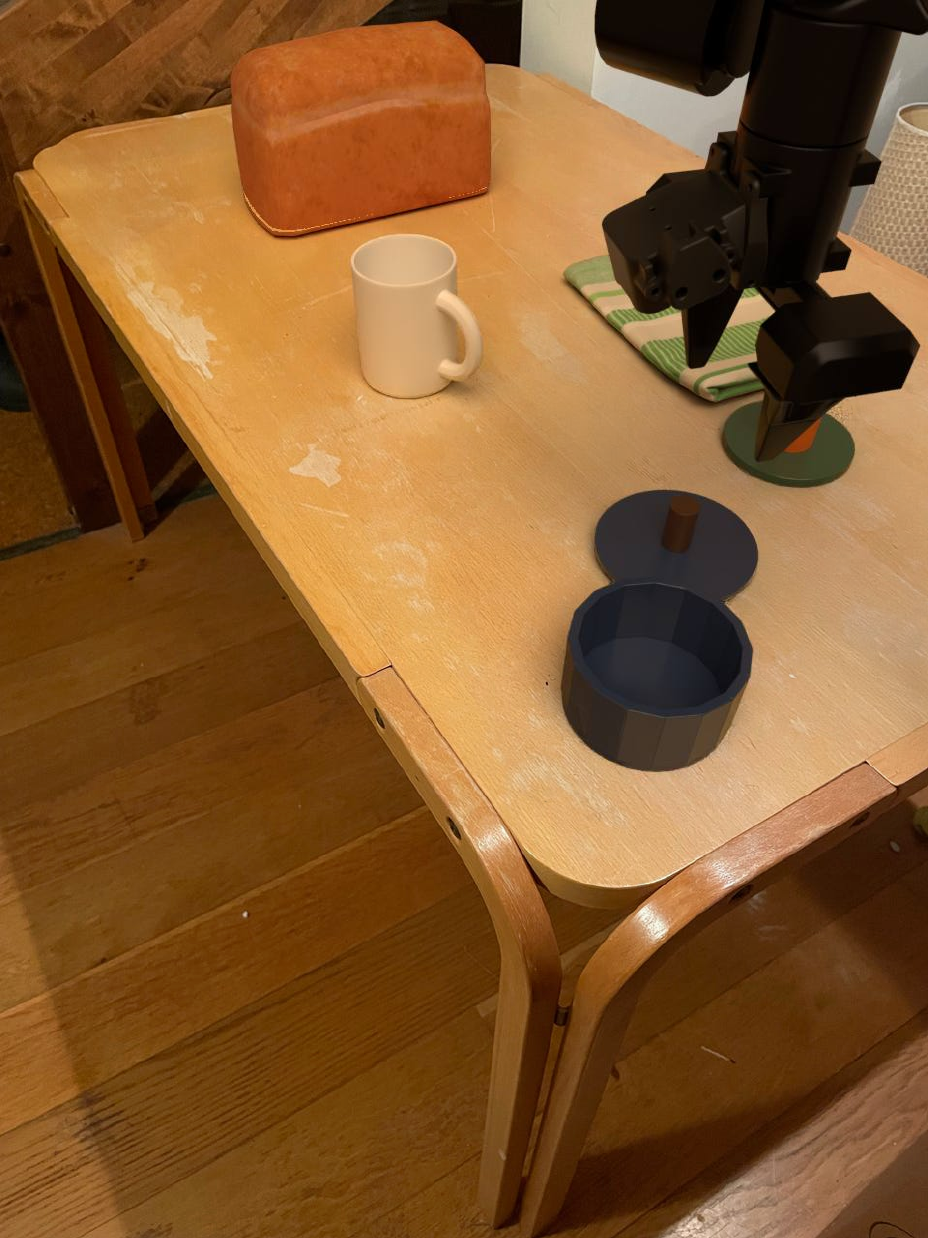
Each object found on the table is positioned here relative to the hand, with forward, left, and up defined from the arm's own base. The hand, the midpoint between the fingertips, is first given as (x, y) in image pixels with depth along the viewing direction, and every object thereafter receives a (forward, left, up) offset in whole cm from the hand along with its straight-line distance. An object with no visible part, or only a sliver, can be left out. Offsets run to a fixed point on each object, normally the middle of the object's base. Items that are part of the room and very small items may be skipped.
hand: (727, 410), depth 52 cm
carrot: (-6, -15, -12) cm, 20 cm away
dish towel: (+2, -32, -13) cm, 35 cm away
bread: (+41, -48, -13) cm, 65 cm away
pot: (+1, +12, -13) cm, 18 cm away
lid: (+1, -1, -12) cm, 12 cm away
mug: (+24, -16, -13) cm, 32 cm away
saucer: (-6, -16, -13) cm, 21 cm away
